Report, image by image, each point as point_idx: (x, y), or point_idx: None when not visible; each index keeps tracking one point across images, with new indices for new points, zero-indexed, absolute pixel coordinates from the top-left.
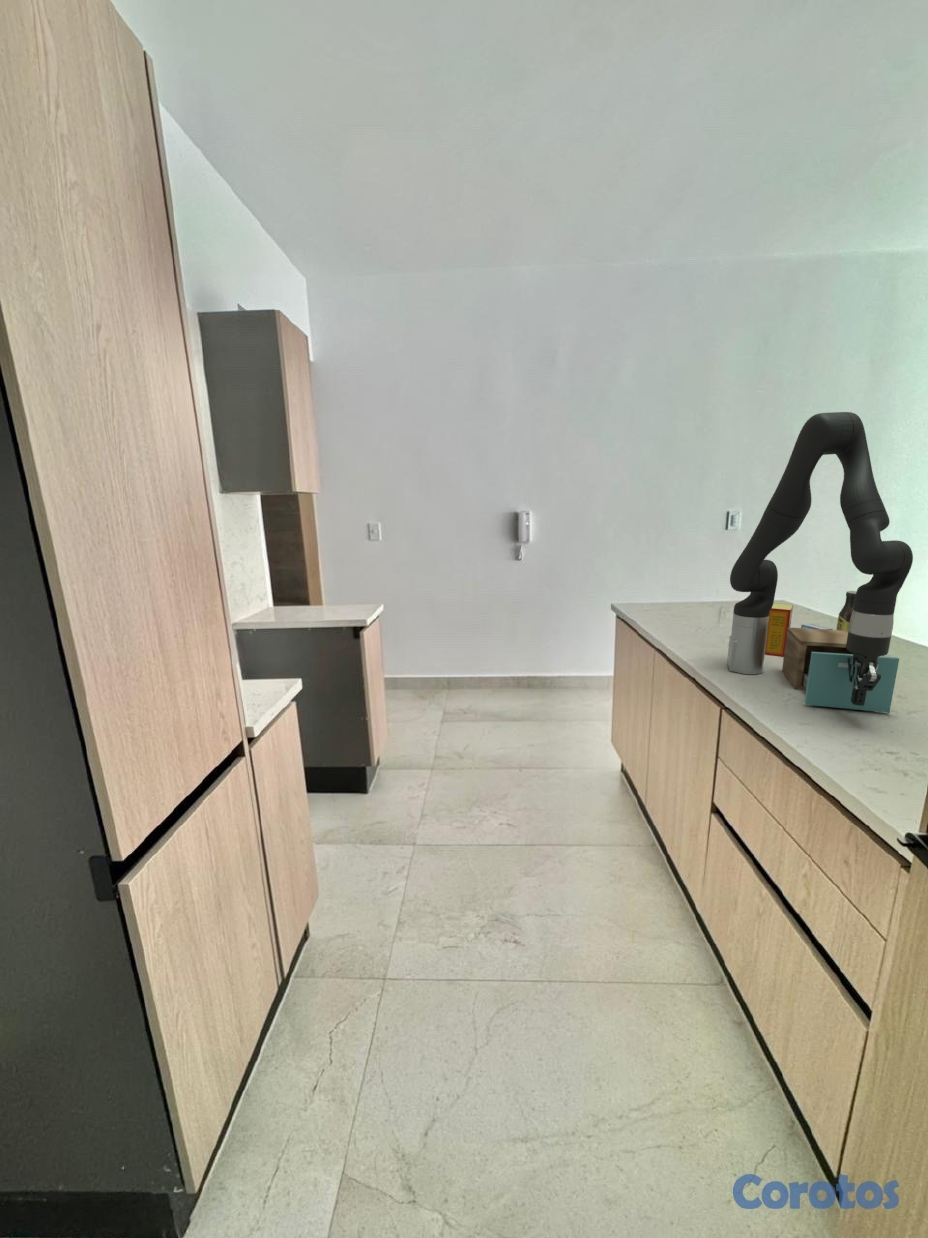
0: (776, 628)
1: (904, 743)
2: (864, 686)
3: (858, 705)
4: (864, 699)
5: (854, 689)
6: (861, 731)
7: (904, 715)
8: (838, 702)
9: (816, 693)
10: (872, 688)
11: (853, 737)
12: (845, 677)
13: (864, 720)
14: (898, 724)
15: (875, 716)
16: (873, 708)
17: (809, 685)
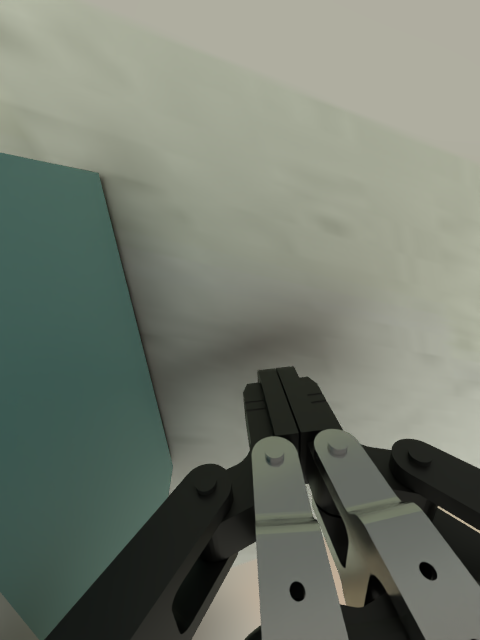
0: None
1: (442, 209)
2: (435, 511)
3: (128, 323)
4: (303, 388)
5: (307, 480)
6: (353, 333)
7: (58, 79)
8: (146, 398)
9: (158, 493)
10: (464, 468)
11: (410, 364)
12: (92, 526)
13: (232, 301)
14: (226, 165)
15: (158, 246)
16: (113, 255)
17: None
